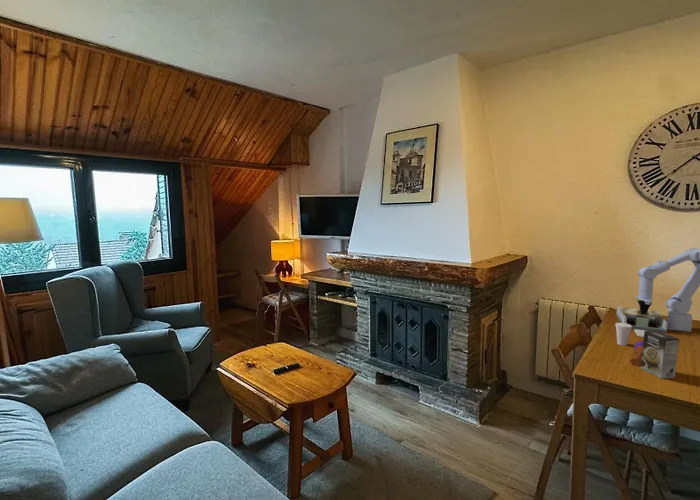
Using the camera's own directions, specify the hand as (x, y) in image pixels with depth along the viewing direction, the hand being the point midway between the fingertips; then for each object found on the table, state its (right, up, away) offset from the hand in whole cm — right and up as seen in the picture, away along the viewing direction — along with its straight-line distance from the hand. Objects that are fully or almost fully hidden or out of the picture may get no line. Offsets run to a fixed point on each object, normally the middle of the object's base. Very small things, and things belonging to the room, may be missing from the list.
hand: (643, 314), depth 195 cm
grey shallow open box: (+3, -6, +6) cm, 9 cm away
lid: (+3, 0, +6) cm, 7 cm away
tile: (-6, -9, -11) cm, 15 cm away
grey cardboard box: (-37, -15, -52) cm, 65 cm away
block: (+1, -7, +3) cm, 8 cm away
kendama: (-33, -13, -38) cm, 52 cm away
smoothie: (-29, -11, -22) cm, 38 cm away
